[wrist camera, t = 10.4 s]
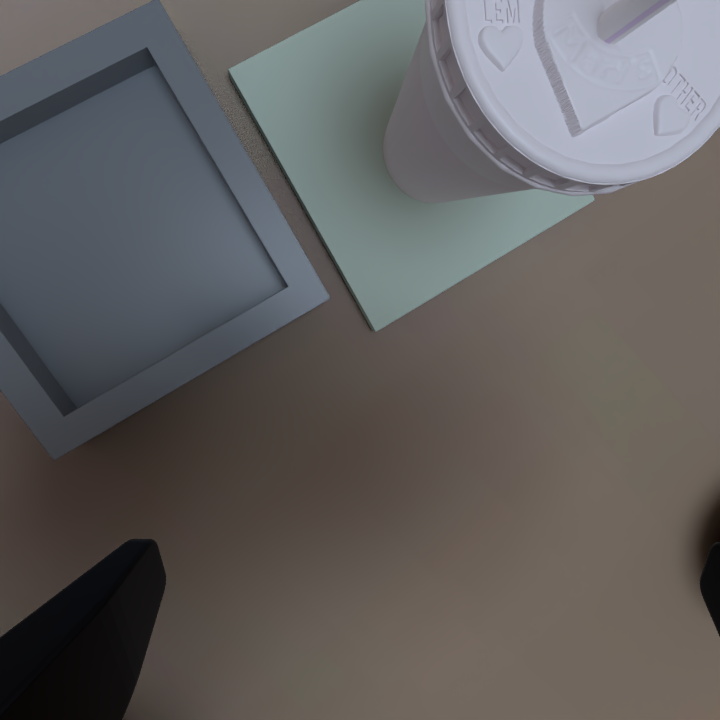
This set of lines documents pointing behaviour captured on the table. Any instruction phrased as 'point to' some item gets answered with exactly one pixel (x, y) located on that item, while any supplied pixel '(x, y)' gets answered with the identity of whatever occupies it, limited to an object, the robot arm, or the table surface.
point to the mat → (375, 162)
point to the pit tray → (129, 232)
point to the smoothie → (553, 96)
